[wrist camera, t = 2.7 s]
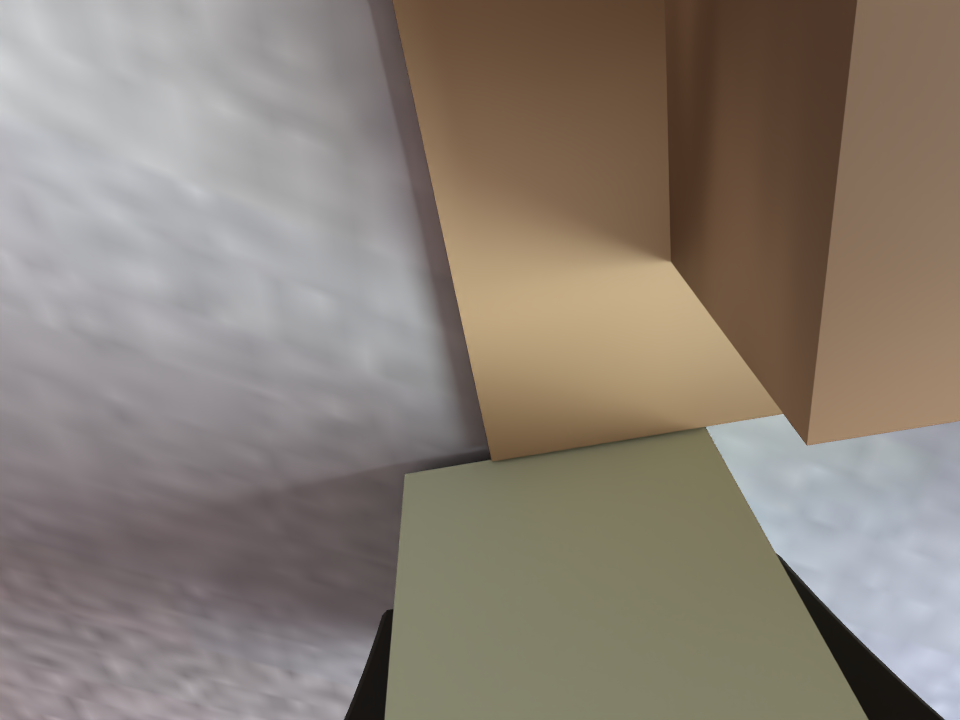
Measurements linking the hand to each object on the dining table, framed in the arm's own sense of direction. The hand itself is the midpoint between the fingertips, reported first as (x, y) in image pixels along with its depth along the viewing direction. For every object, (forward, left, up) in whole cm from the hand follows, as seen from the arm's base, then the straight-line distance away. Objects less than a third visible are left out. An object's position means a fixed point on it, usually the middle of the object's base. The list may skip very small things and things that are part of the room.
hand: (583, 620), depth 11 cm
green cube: (0, 0, -2) cm, 2 cm away
